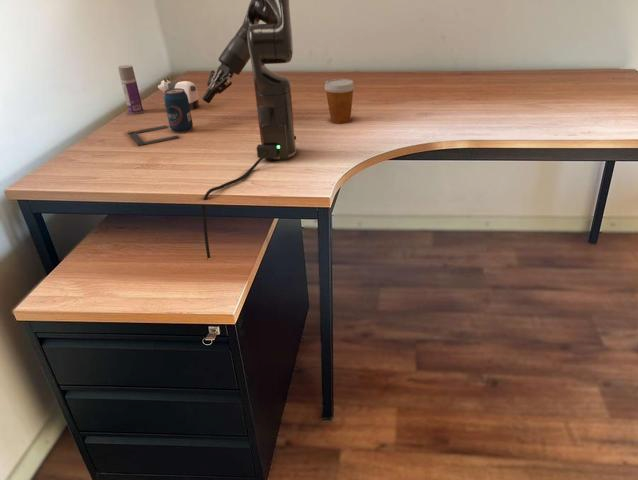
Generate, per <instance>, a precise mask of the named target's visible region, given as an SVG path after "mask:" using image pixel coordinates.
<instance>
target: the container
mask: <svg viewBox="0 0 638 480" xmlns="http://www.w3.org/2000/svg"><path fill="white" fill-rule="evenodd" d="M117 69H118V74H119V78H120V83H121V87H122V91H123V94H124V99H125V103H126V106H127V107H126V108H127V111H128V114H130V115H139V114H142V113H143V112H144V109H143V104H142V99H141V94H140V90H139V87H138V82H137V78H136V75H135V71H134V67H133V64H132V65H131V64H123V65H119V66H118V67H117Z"/></svg>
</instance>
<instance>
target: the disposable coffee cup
mask: <svg viewBox="0 0 638 480" xmlns="http://www.w3.org/2000/svg"><path fill="white" fill-rule="evenodd" d="M323 88H324V90H325V93H326V99H327V105H328V111H329V116H330V122H331V123H334V124H346V123H349V122H351V117H352V107H353V105H352V104H353V95H354V89H355V84H354V81H353V80H352V79H347V78H332V79H328V80H326V81H325V83H324V86H323Z"/></svg>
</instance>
